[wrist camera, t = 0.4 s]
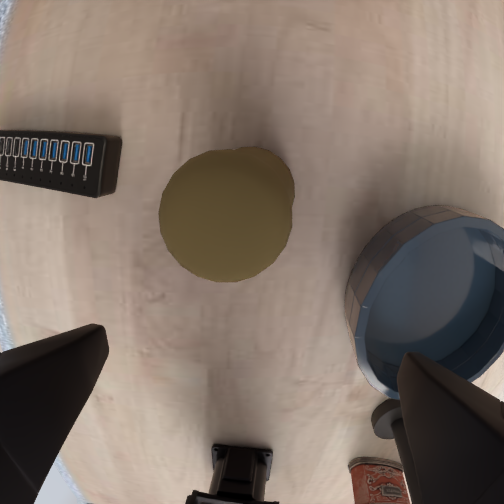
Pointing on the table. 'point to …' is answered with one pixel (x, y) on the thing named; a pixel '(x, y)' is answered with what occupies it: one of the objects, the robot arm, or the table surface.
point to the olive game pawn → (228, 213)
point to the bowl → (428, 295)
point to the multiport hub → (61, 161)
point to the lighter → (378, 481)
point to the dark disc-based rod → (397, 441)
